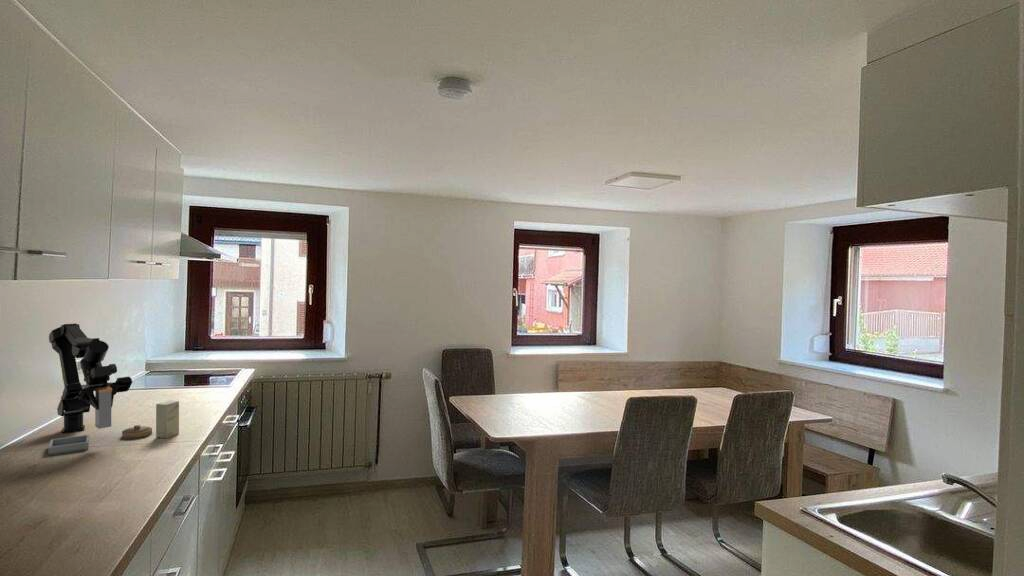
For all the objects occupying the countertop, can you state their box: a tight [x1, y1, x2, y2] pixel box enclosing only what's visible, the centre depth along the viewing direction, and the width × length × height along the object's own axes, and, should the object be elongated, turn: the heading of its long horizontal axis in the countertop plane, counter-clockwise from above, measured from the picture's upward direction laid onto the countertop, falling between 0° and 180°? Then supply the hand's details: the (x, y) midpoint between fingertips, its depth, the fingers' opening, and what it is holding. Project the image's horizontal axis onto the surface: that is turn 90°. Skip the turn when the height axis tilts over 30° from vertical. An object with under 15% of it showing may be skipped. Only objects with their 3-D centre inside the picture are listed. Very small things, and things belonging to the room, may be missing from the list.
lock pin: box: [94, 387, 112, 429], centre depth 188 cm, size 4×4×13 cm
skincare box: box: [155, 400, 180, 439], centre depth 202 cm, size 6×4×12 cm
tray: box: [47, 434, 90, 456], centre depth 186 cm, size 10×10×2 cm
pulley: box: [121, 424, 153, 440], centre depth 201 cm, size 9×9×4 cm
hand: (104, 408), depth 187 cm, fingers closed on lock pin, 3 cm apart
